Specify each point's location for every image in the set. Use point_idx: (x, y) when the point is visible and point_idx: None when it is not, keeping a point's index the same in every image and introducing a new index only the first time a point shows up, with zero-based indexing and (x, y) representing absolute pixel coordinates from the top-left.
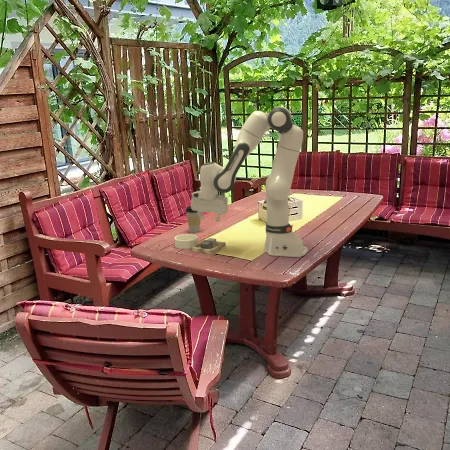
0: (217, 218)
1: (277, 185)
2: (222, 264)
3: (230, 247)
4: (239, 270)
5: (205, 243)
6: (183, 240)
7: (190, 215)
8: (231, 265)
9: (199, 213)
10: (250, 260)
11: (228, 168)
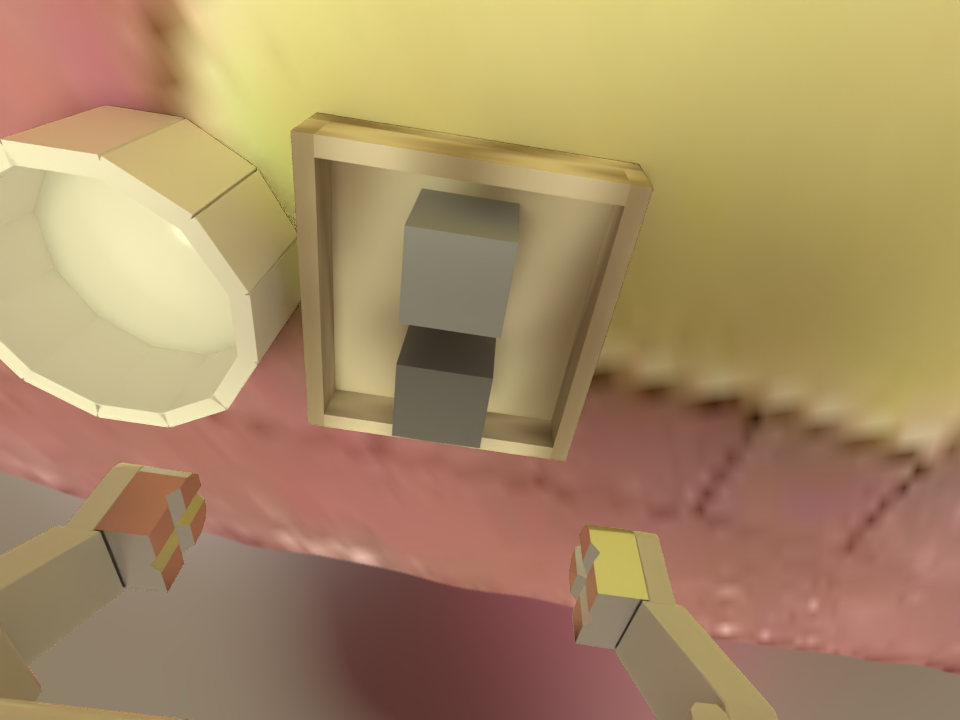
0: (621, 646)
1: None
2: (673, 540)
3: (701, 141)
4: (807, 596)
5: (446, 424)
6: (27, 169)
7: None
8: (746, 546)
9: (29, 654)
10: (921, 454)
11: None
